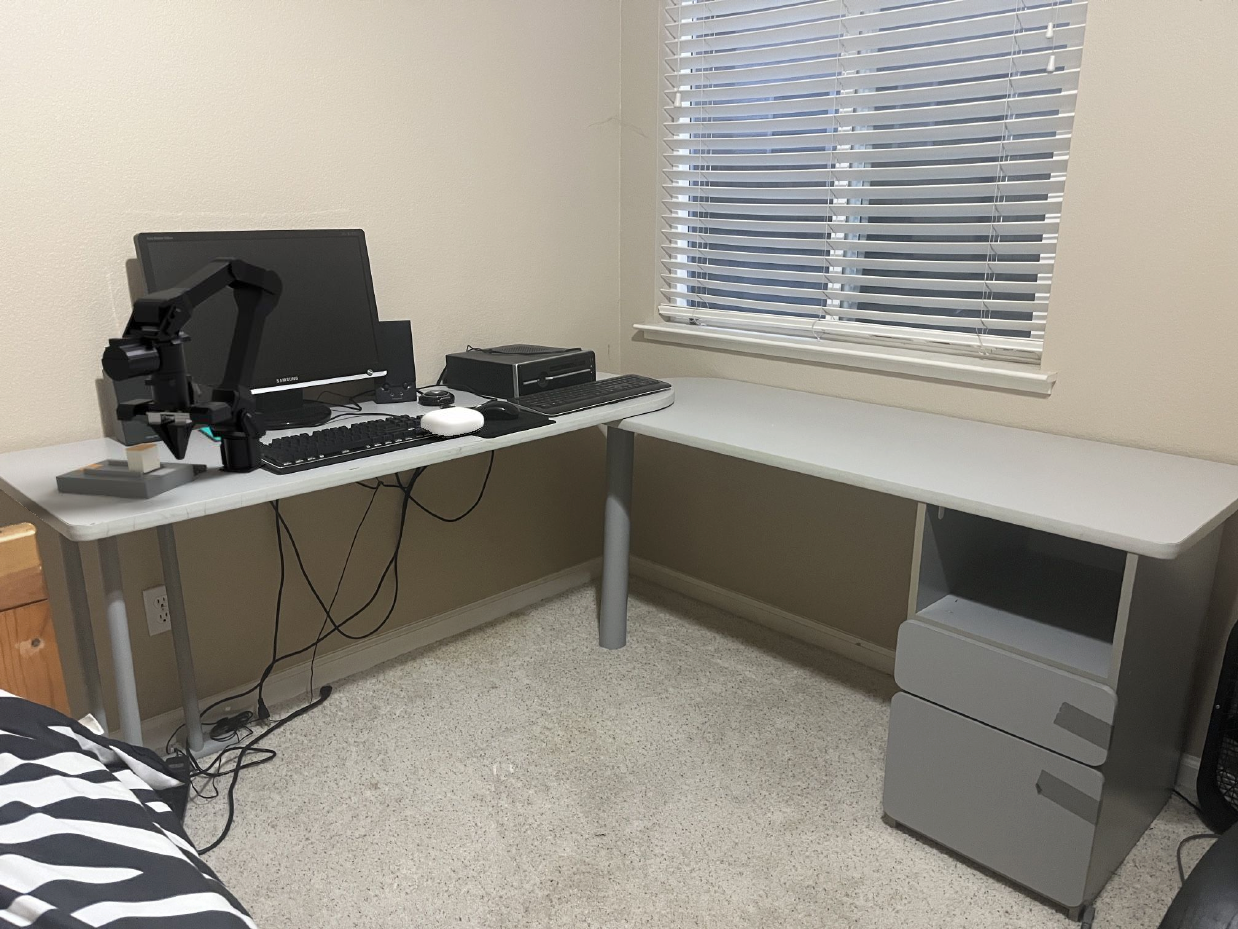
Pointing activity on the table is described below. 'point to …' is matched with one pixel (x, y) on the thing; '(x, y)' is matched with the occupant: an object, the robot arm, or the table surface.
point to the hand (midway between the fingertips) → (180, 459)
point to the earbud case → (452, 421)
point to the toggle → (143, 457)
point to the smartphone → (209, 434)
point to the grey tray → (124, 479)
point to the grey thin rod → (201, 467)
